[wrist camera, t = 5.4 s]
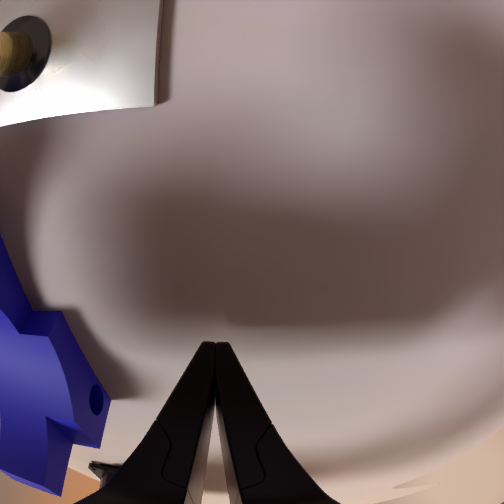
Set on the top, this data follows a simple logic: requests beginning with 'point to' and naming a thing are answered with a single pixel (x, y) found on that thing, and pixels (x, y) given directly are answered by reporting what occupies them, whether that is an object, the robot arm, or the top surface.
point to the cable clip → (42, 390)
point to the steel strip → (77, 56)
